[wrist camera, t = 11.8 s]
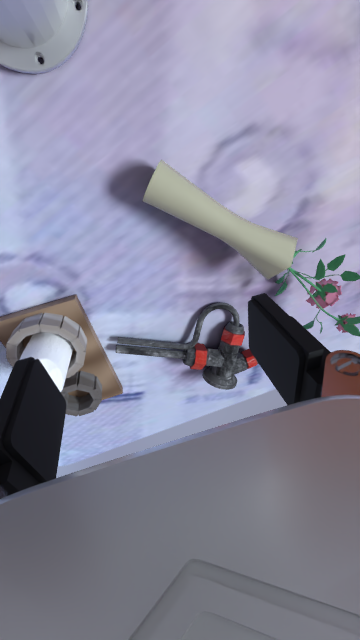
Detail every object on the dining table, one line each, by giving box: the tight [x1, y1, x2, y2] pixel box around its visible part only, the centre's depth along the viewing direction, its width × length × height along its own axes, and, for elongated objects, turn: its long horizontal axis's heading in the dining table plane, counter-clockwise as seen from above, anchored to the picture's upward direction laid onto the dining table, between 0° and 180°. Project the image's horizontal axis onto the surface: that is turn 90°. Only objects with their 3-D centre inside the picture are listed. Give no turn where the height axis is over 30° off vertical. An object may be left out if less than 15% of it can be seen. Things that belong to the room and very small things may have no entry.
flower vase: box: [143, 160, 360, 336], centre depth 37 cm, size 12×12×35 cm
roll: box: [20, 332, 74, 392], centre depth 34 cm, size 6×12×6 cm
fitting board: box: [0, 295, 123, 416], centre depth 41 cm, size 20×12×4 cm, turn 13°
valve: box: [116, 303, 259, 390], centre depth 46 cm, size 6×26×15 cm
